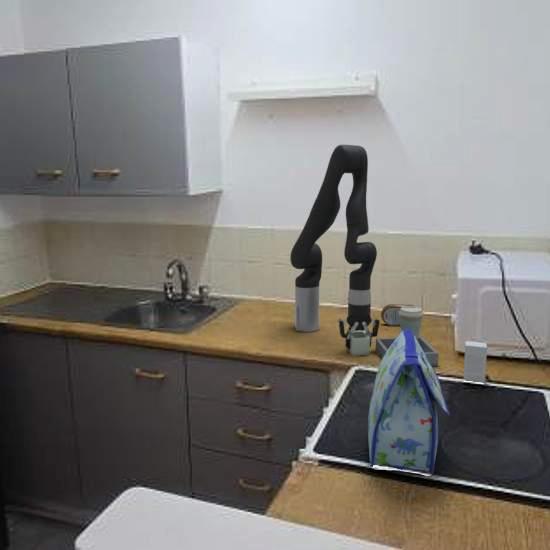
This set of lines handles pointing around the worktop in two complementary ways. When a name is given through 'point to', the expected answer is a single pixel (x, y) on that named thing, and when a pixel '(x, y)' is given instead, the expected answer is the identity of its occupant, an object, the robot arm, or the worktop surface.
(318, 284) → the robot arm
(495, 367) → the worktop surface
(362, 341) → the small crate
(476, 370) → the skincare box
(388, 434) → the lunch bag
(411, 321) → the coffee cup
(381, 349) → the large crate
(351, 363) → the worktop surface
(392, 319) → the tin
